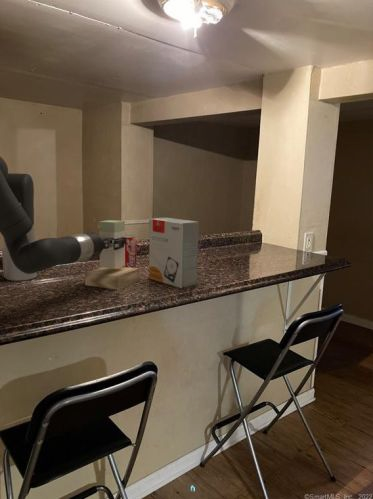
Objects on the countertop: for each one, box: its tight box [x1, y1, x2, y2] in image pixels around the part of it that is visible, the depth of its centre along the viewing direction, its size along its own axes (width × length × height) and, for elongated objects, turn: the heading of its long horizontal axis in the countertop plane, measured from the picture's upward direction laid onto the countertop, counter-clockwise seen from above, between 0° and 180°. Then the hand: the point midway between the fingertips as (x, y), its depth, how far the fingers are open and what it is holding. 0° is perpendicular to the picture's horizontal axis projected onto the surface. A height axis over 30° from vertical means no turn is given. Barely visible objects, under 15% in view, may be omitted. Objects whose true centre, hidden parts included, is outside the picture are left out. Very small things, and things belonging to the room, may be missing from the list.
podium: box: [84, 266, 140, 291], centre depth 122 cm, size 12×12×4 cm
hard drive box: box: [148, 217, 200, 289], centre depth 124 cm, size 16×8×20 cm, turn 45°
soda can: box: [122, 234, 138, 269], centre depth 136 cm, size 7×7×13 cm
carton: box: [98, 219, 126, 269], centre depth 121 cm, size 6×6×14 cm
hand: (116, 239), depth 123 cm, fingers closed on carton, 5 cm apart
